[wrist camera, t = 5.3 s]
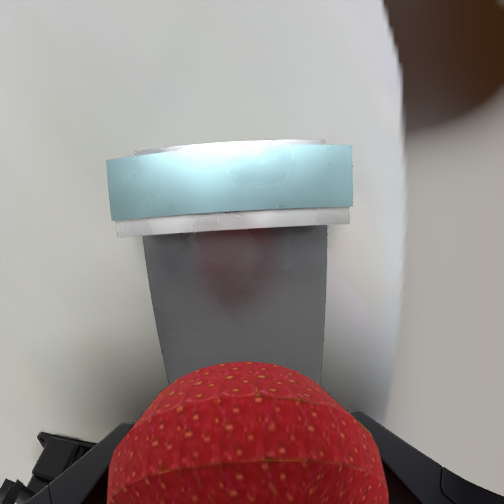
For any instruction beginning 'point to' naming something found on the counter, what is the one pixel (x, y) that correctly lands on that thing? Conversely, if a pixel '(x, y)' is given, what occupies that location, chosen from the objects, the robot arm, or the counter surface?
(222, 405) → the strawberry
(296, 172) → the block
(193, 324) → the vise
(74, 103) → the counter surface
